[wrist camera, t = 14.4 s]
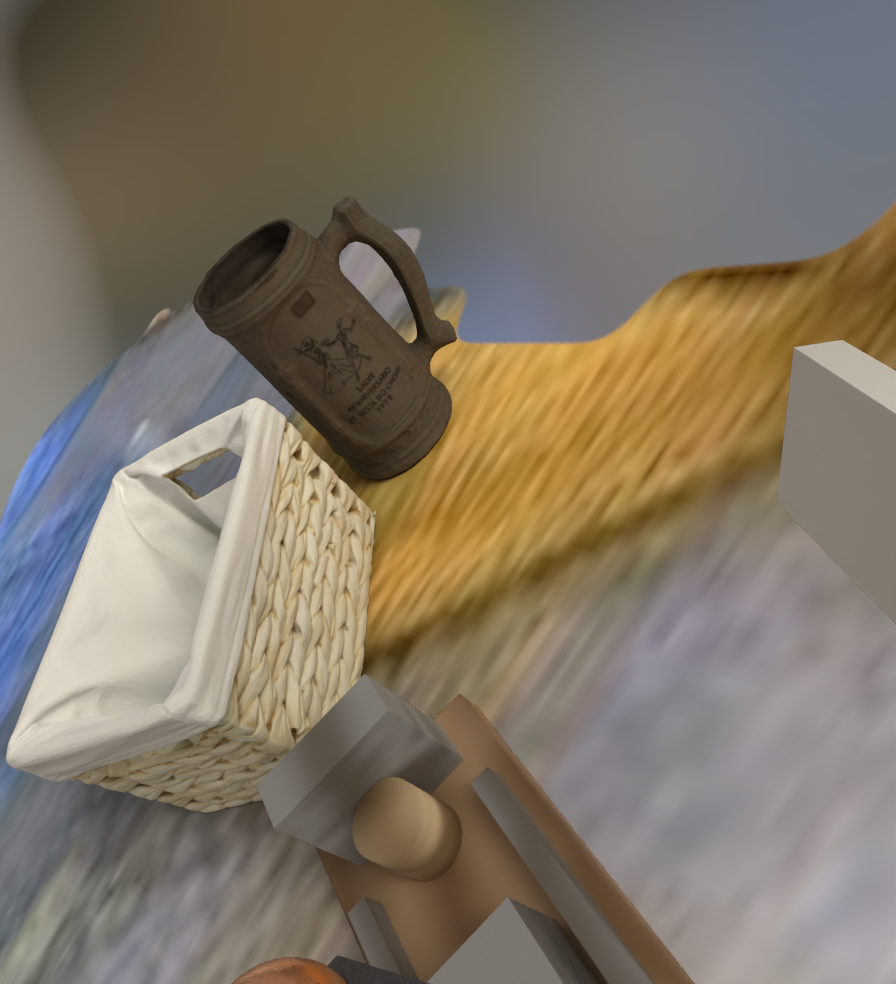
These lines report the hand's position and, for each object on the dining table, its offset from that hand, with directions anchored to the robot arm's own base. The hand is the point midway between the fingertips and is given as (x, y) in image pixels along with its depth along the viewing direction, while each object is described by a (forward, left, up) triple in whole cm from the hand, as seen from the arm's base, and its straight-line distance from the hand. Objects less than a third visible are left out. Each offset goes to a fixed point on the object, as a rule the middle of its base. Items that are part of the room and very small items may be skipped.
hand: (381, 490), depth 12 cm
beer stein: (-6, -48, -31) cm, 57 cm away
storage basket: (+15, -37, -31) cm, 50 cm away
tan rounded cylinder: (+12, -15, -29) cm, 35 cm away
